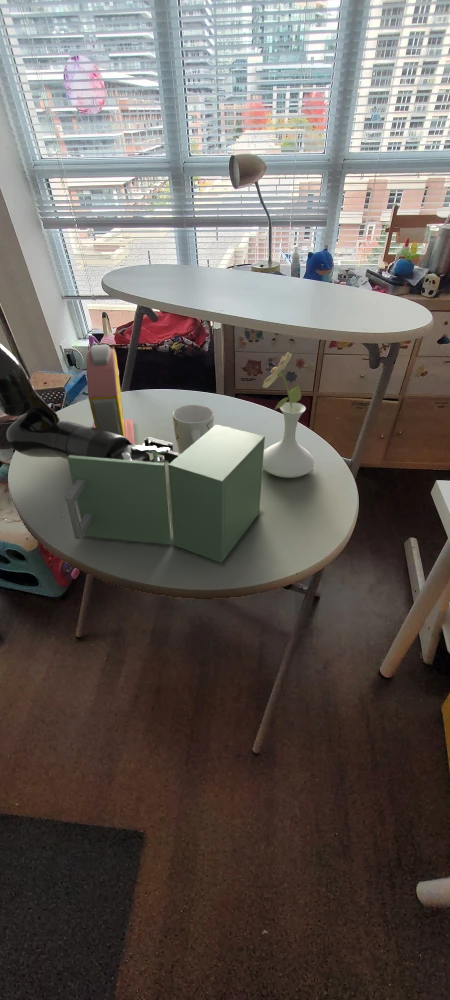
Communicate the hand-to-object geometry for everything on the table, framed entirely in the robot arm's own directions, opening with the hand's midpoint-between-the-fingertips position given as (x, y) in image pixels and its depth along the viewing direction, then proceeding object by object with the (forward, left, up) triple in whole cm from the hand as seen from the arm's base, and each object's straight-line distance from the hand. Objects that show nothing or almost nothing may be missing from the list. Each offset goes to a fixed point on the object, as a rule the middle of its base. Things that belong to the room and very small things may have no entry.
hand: (173, 473), depth 78 cm
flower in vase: (+21, +16, -9) cm, 28 cm away
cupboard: (+8, -4, -9) cm, 12 cm away
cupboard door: (-8, -10, -8) cm, 15 cm away
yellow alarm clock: (-17, +25, -9) cm, 32 cm away
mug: (+2, +19, -9) cm, 21 cm away
